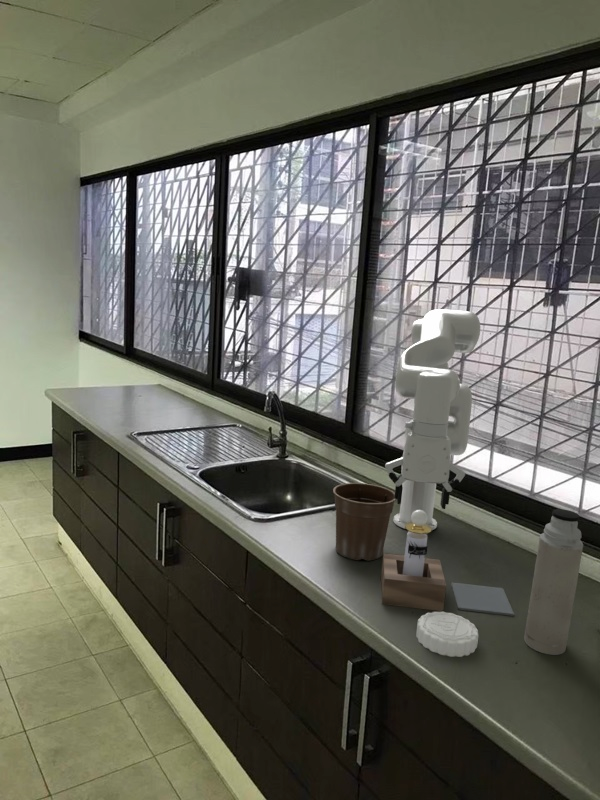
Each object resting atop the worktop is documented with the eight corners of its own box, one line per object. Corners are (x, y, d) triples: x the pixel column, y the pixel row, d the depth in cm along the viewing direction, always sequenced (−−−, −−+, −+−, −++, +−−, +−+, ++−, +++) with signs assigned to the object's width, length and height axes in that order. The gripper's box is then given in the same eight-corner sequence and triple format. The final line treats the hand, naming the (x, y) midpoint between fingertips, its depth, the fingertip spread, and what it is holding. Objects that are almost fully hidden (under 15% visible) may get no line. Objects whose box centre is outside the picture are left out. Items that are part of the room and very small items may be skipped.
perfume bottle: (395, 586, 151) (404, 504, 147) (420, 587, 151) (429, 506, 147) (400, 598, 145) (409, 514, 142) (425, 600, 146) (435, 515, 142)
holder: (380, 576, 155) (383, 553, 154) (436, 583, 154) (439, 559, 153) (382, 603, 142) (384, 578, 141) (442, 611, 141) (446, 585, 140)
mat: (451, 584, 154) (451, 582, 154) (502, 590, 153) (503, 588, 153) (457, 609, 143) (458, 607, 142) (513, 616, 142) (514, 613, 141)
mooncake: (422, 619, 138) (423, 603, 137) (480, 633, 134) (482, 617, 133) (410, 647, 127) (412, 630, 126) (473, 664, 123) (475, 647, 122)
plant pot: (345, 533, 180) (350, 478, 177) (400, 549, 172) (406, 491, 169) (316, 553, 166) (321, 492, 163) (374, 571, 158) (381, 508, 155)
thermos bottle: (518, 631, 135) (537, 504, 130) (555, 633, 135) (576, 506, 130) (532, 654, 127) (554, 518, 122) (572, 656, 128) (595, 521, 122)
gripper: (389, 428, 138) (381, 506, 141) (472, 436, 136) (462, 514, 139) (388, 421, 145) (381, 495, 148) (467, 429, 144) (458, 503, 147)
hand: (420, 504), depth 144 cm, fingers open, 9 cm apart
